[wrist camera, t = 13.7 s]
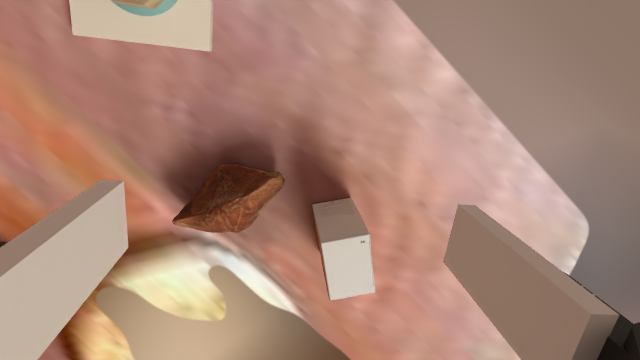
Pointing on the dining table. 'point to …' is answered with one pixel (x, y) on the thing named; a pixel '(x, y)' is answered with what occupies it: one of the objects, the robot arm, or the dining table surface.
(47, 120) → the dining table surface
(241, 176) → the fossil
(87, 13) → the post stand
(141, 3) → the maple ring
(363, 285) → the small box
